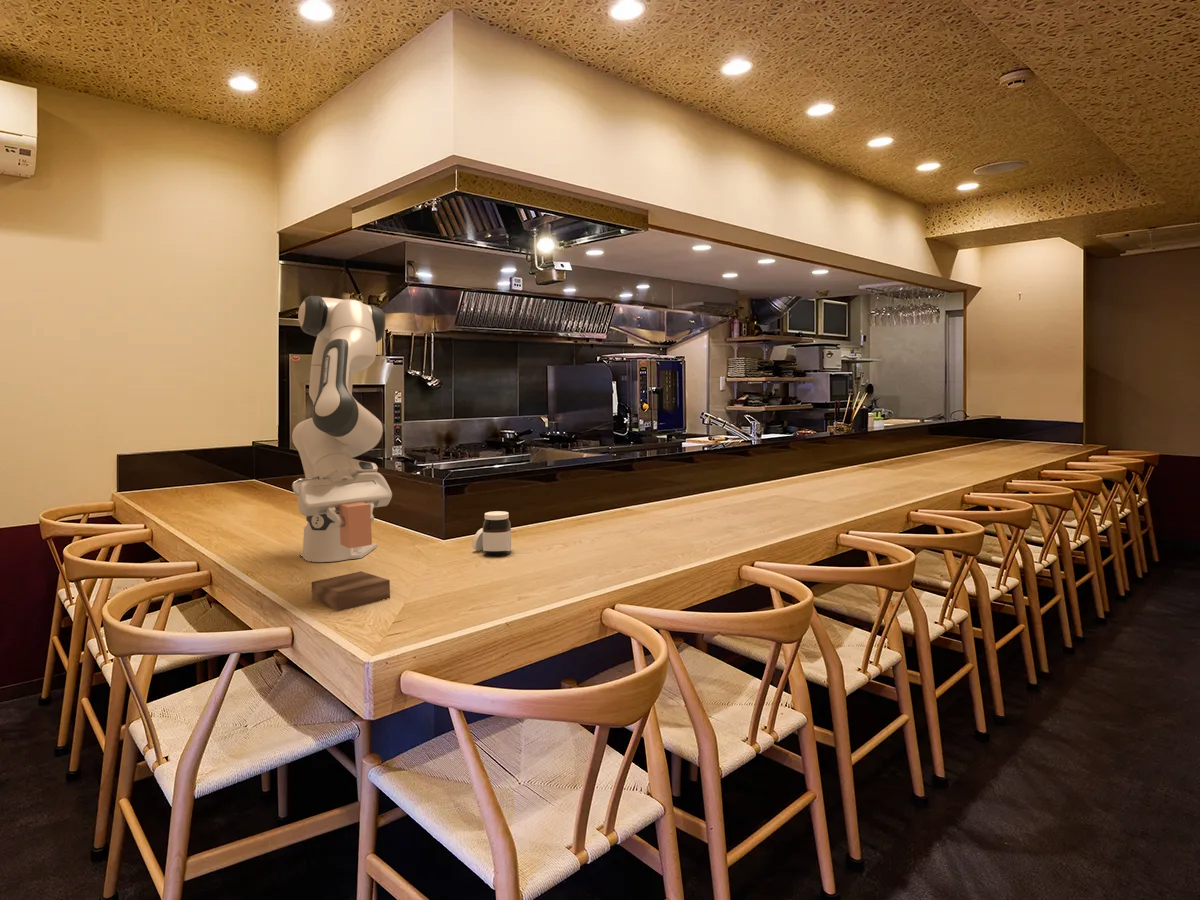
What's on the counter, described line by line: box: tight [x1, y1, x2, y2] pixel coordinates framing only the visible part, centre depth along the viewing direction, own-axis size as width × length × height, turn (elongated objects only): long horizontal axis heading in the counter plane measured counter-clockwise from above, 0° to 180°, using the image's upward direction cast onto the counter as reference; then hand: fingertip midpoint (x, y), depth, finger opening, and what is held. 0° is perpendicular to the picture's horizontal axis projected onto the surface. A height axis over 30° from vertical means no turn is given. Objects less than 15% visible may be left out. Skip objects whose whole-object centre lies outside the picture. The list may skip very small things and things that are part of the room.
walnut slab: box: [311, 570, 391, 612], centre depth 154 cm, size 12×12×4 cm
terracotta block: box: [339, 502, 373, 548], centre depth 152 cm, size 5×5×9 cm
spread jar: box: [471, 510, 512, 557], centre depth 198 cm, size 12×11×12 cm
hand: (356, 523), depth 152 cm, fingers closed on terracotta block, 5 cm apart
